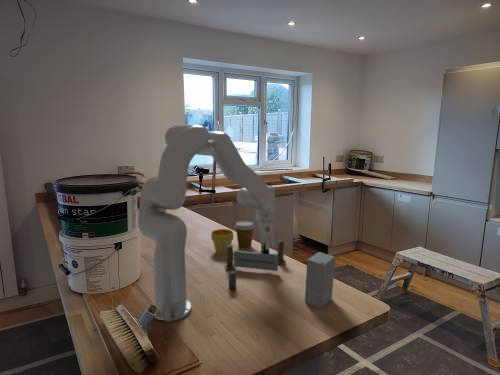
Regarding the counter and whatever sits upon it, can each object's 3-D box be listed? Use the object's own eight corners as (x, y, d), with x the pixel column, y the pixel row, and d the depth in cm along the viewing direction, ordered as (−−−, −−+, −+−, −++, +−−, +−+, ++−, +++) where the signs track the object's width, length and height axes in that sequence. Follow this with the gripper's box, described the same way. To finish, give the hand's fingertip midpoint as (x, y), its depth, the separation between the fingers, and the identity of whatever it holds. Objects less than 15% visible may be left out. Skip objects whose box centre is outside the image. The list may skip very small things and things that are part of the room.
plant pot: (219, 257, 147) (219, 237, 146) (207, 251, 155) (207, 231, 153) (237, 252, 154) (237, 232, 152) (225, 246, 162) (225, 227, 160)
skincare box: (315, 293, 115) (317, 250, 112) (334, 299, 110) (336, 255, 108) (303, 303, 108) (304, 258, 106) (322, 310, 104) (324, 263, 101)
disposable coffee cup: (256, 244, 165) (256, 221, 163) (251, 250, 156) (251, 226, 154) (238, 242, 167) (238, 220, 165) (232, 249, 158) (232, 225, 156)
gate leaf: (233, 266, 134) (233, 251, 133) (235, 265, 135) (234, 249, 134) (277, 271, 129) (277, 255, 128) (277, 269, 131) (278, 253, 130)
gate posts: (229, 290, 117) (229, 264, 115) (219, 268, 136) (218, 245, 134) (302, 280, 125) (303, 255, 123) (282, 260, 144) (283, 239, 142)
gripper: (278, 221, 124) (278, 266, 127) (270, 211, 138) (270, 252, 142) (259, 221, 123) (259, 267, 126) (253, 212, 137) (253, 253, 141)
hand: (265, 259), depth 134 cm, fingers closed
